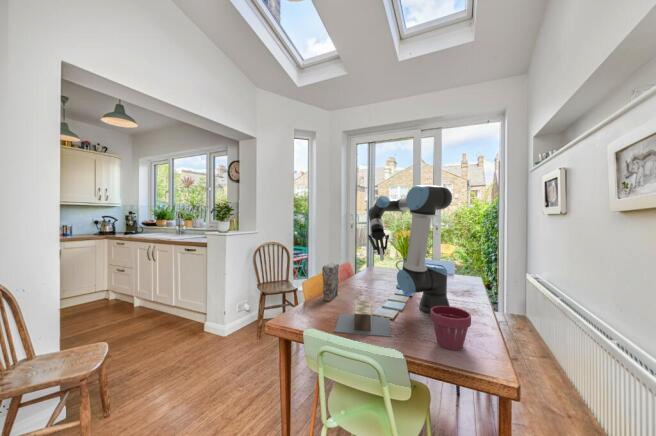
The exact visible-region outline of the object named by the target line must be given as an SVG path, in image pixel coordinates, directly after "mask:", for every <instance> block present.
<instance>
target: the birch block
mask: <svg viewBox="0 0 656 436" xmlns="http://www.w3.org/2000/svg"><path fill="white" fill-rule="evenodd" d="M372 302H373V301H372V300H360V299H358V300H356V304H355V305H356V306H355V308H354V309H355V310H354V314H353V315H354V330H359V331H371V316H373V314H372V313H373V312H372V307H373V305H372V304H373V303H372Z"/></svg>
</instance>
